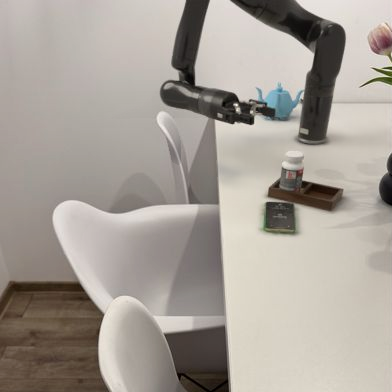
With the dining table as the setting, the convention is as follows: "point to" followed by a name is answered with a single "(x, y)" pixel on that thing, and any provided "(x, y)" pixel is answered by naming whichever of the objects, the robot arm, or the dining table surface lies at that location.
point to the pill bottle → (292, 171)
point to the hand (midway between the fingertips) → (264, 117)
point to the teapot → (280, 101)
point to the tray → (309, 195)
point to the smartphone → (279, 217)
